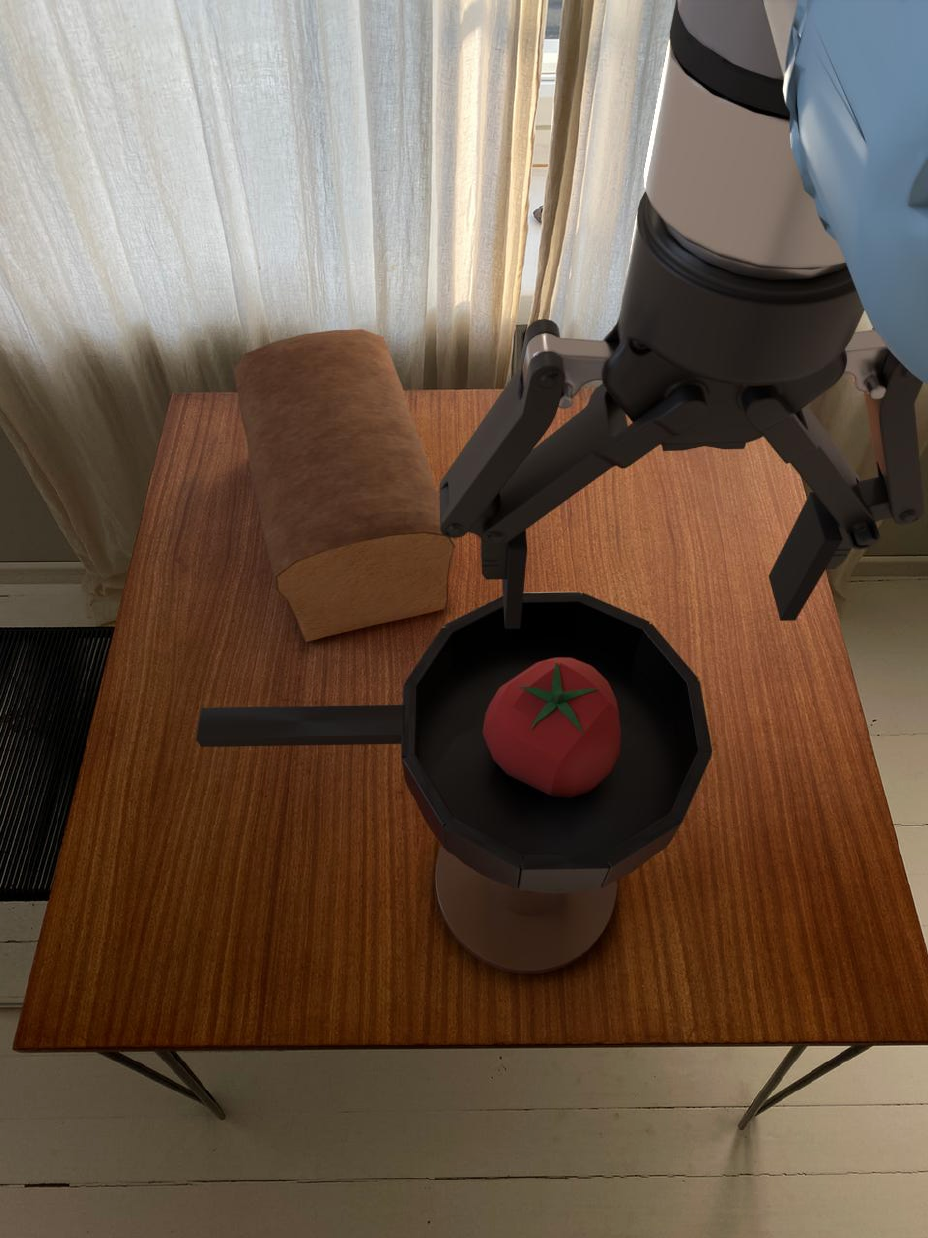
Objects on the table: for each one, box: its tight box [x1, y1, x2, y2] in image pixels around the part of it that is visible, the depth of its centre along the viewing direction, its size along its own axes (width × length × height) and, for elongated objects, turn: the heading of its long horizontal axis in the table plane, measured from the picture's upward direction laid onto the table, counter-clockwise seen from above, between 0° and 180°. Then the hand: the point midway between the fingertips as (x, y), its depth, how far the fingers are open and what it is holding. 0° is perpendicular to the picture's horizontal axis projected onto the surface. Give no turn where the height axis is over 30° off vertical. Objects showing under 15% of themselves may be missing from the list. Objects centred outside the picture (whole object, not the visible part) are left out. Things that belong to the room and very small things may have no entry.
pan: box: [195, 591, 713, 975], centre depth 64 cm, size 18×29×33 cm, turn 91°
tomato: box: [483, 658, 621, 798], centre depth 51 cm, size 8×8×7 cm
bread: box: [233, 328, 456, 643], centre depth 93 cm, size 18×30×16 cm, turn 15°
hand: (646, 602), depth 44 cm, fingers open, 13 cm apart
